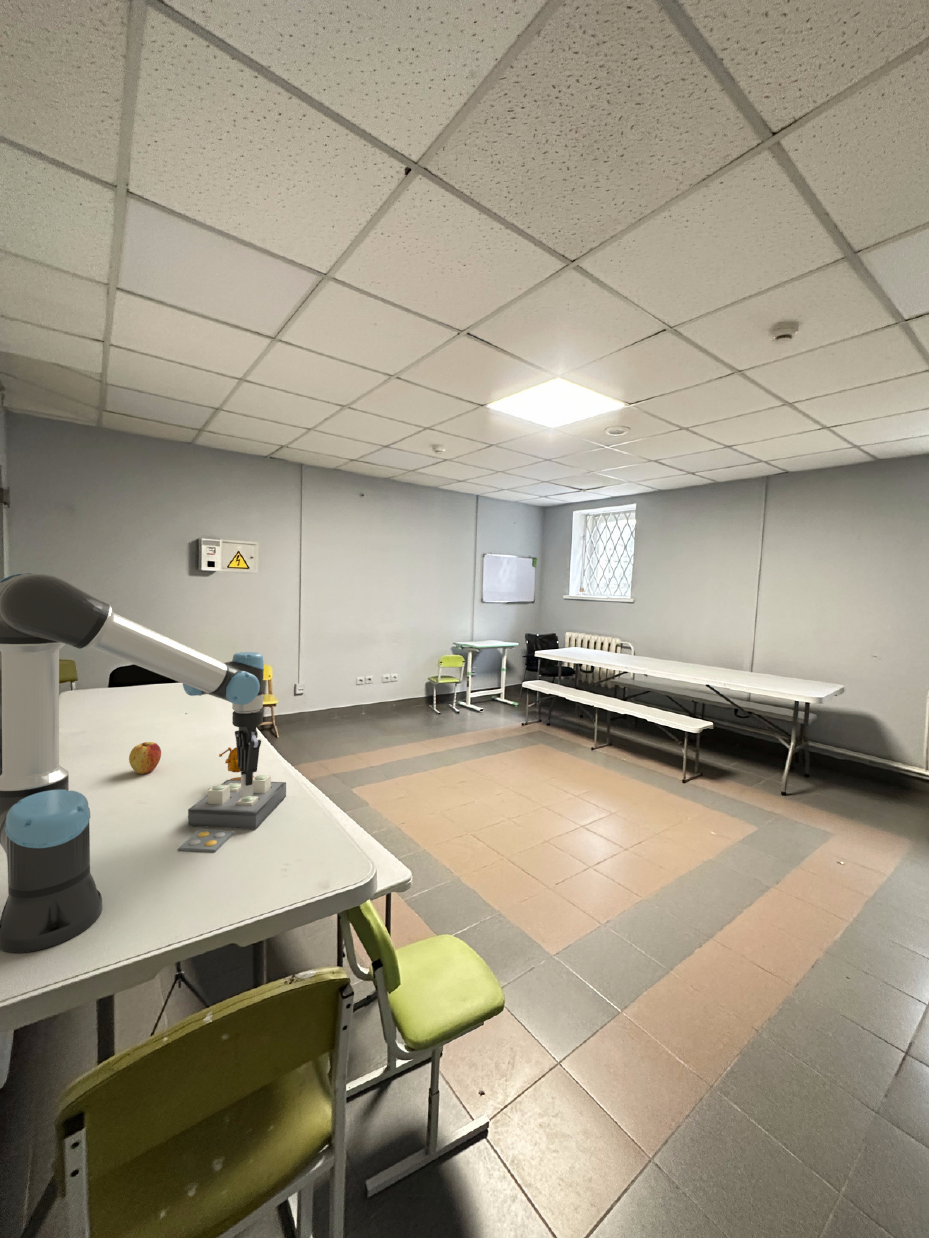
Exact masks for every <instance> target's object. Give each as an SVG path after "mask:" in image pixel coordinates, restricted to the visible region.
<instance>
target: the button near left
mask: <svg viewBox="0 0 929 1238" xmlns="http://www.w3.org/2000/svg"><path fill="white" fill-rule="evenodd" d="M207 795H208V804H219V805H223V804H225V803H226V802H227V801H228V800H229V799H230V785H221V784H214V785H213V786H212V787H211V788H209V789H208V790H207Z"/></svg>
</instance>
